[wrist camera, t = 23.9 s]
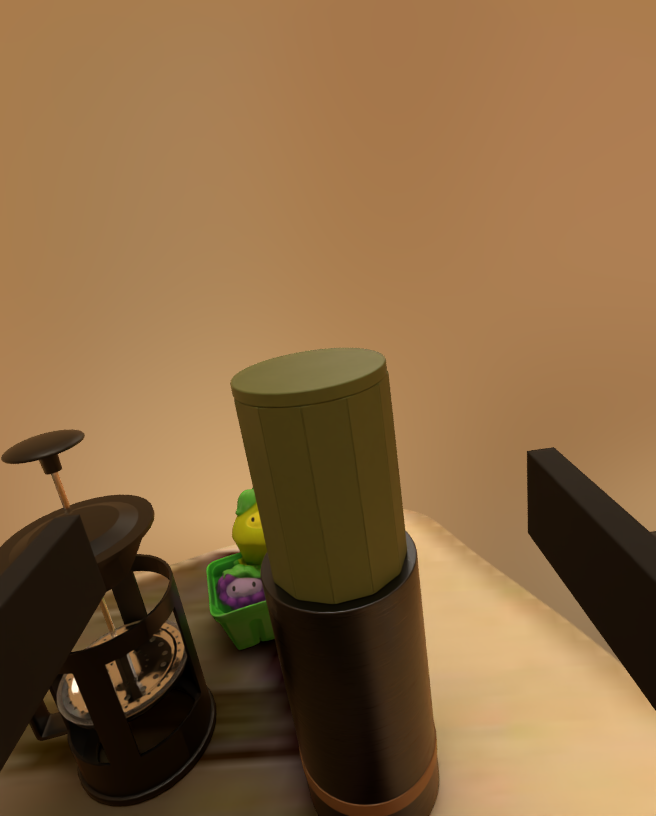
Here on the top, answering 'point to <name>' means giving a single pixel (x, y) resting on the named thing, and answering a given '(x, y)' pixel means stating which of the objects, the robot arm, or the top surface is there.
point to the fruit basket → (242, 580)
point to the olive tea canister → (324, 471)
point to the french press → (118, 650)
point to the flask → (360, 696)
